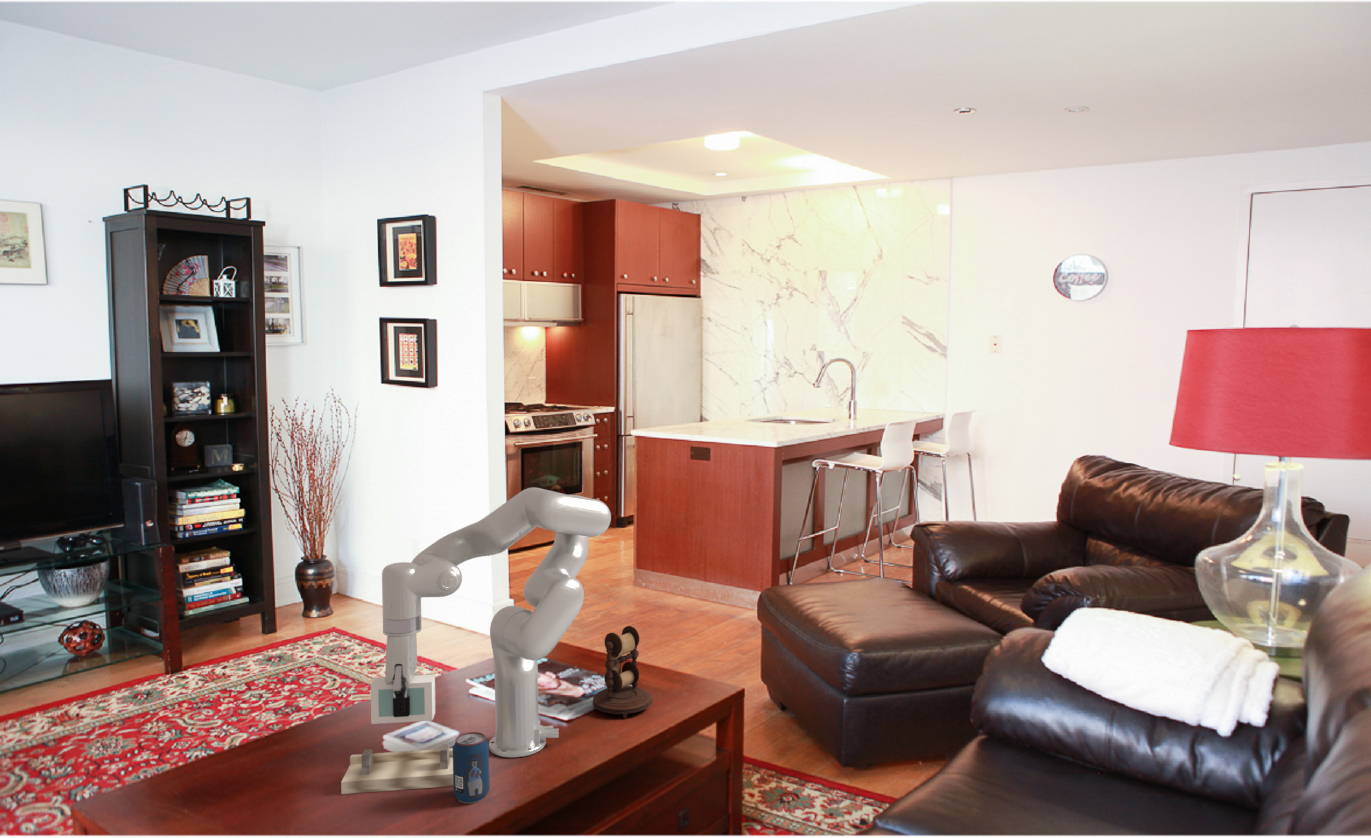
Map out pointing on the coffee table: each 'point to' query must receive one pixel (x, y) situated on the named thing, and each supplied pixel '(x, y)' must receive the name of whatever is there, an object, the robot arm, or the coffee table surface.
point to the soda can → (470, 767)
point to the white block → (420, 700)
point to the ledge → (399, 770)
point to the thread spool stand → (622, 676)
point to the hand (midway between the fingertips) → (403, 710)
